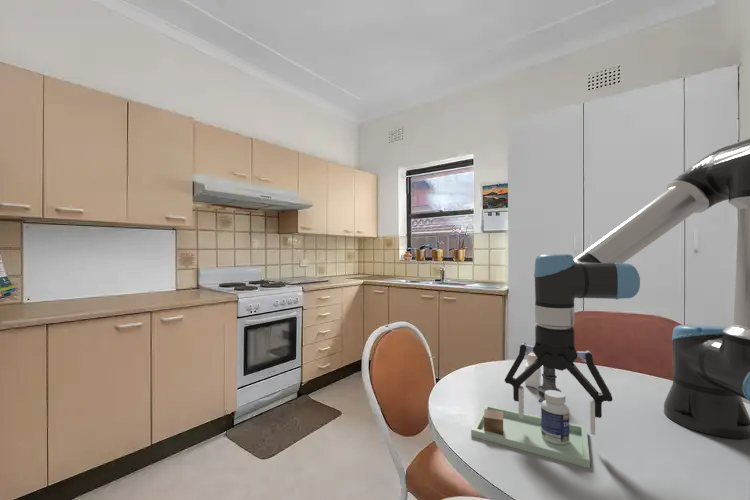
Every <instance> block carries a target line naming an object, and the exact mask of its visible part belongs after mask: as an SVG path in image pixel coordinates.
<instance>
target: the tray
mask: <svg viewBox="0 0 750 500" xmlns="http://www.w3.org/2000/svg"><path fill="white" fill-rule="evenodd" d="M484 409H487V410H494V411H500V412H503V435H499V434H495V433H492V432H488V431H484ZM470 434H471V435H470V437H473V438H477V439H480V440H484V441H488V442H491V443H495V444H498V445H503V446H506V447H509V448H514V449H518V450H520V451H524V452H529V453H532V454H536V455H539V456H543V457H547V458H550V459H554V460H558V461H562V462H565V463H568V464H569V463H570V464H572V465H576V466H580V467H584V468H586V469H590V467H591V463H590V462H591V461H590V459H591V457H590V449H589V439H588V430H587V426H585V425H581V424H578V423H577V424H576V423H572V422H569V442H568V443H567V444H564V445H559V444H554V443H551V442H548V441H547V440H545V439H544V438H543V437H542V433H541V416H539V415H535V414H530V413H526V412H524V415H523V419H521V418H519V410H518V411H517V410H513V409H508V408H504V407H500V406H499V407H498V406H494V405H489V404H484V406H483V407H482V409H481V411H480V412H479V414H478V416H477V418H476V420H475V422H474V423H473V426H472V427H471V430H470Z"/></svg>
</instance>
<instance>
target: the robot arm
mask: <svg viewBox="0 0 750 500" xmlns="http://www.w3.org/2000/svg"><path fill="white" fill-rule="evenodd" d="M727 200H728V203H729V204H730V205H731V206H733V207H735V208H736V209H737V211H738V215H737V216H738V220H737V237H736V238H737V239H736V241H737V242H736V244H737V245H736V261H735V279H734V280H735V285H734V286H735V288H734V301H733V302H734V304H733V305H734V307H733V323H732V324H731V325H729V326H720V325H718V326H717V325H699V324H698V325H697V324H679V325H676V326H674V328H673V330H672V337H671V342H672V384H671V387H670V389H669V392H668V393H667V396H666V398H665V399H664V403H663V413H664V414H665V416H666V417H667V418H668V419H669V420H671V421H673V422H675V423H677V424H679V425H681V426H682V427H685V428H687V429H690V430H692V431H696V432H699V433H702V434H705V435H711V436H715V437H719V438H720V437H721V438H726V439H734V440H735V439H736V440H737V439H738V440H739V439H741V440H743V439H748V438H749V439H750V415H749V412H748V411H747V408H746V405H745V404H744V400H743V399H745V400H747V401H749V402H750V138H748V139H745V140H742V141H739V142H736V143H734V144H733V143H732V144H731V145H726V146H724V147H721V148H718V149H717V150H714V151H713V152H711V153H710V154H708V155H706V156H705V157H702V158H701V159H700V160H699V161H697V162H696V163H695V164H693V165H691V166H690V167H688V169H687V170H685V171H684V172H682V173H681V174H680V175H679V176H677V177H676V178H674V179H673V180H672V181H670V182H669V183H668V184H667V185H666V189H665V191H664V192H663V193H661V194H660V195H659V196H658V197H655V199H654V200H652V201H651V202H649V203H648V204H646V205H645V206H644V207H643V208H641V209H640V210H639V211H637V212H636V213H634V214H633V215H632V216H630V217H628V219H627V220H624V222H622V223H621V224H620V225H618V226H616V227H615V228H614V229H613V230H611V231H610V232H608V233H607V234H606V235H604V236H603V237H602V238H600V239H599V240H598V241H596V242H595V243H593V244H592V245H591V246H589V247H588V248H586V249H585V250H583V252H581V253H580V254H578V255H576V256H575V257H574V255H572V254H566V253H565V254H559V253H558V254H557V253H556V254H553V253H551V254H548V253H547V254H539V255H537V256H536V258H535V261H534V275H533V277H534V293H535V294H534V299H535V304H534V314H535V315H534V321H535V323H536V324H535V327H534V329H535V330H534V333H535V335H534V337H535V338H534V339H535V344H534V345H529V344H527V343H526V342H522V343H521V344H520V346H519V352H518V355H517V357H516V359H515V360H514V362H513V364H512V365H511V368H510V369H509V371H508V372H507V374H506V376H505V378H504V382H505V384H509V385H510V386H512V389H513V390H512V391H513V401H514V402H518V412H519V418H521V419H523V415H524V413H525V409H524V408H525V404H524V403H525V402H524V401H525V400H524V398H525V393H524V389H525V388H524V387H525V386H524V385H525V384H523V383H525V380H527V379H528V378H529V377H530V376H531V375H532V374H533V373H534V372H535V371H536V370H537V369H539V368H540V367H541V368H542V367H543V366H545V367H547V368H548V369H555V370H558V371H561V372H563V371H565V370H567V371H568V372H569V373H570V375H572V376H573V377H574V378H575V379H576V380H577V382H578V383H579V384H580V385H581V387H582V388H583V389H584V390H585V391H586V392H587V393H588V395H589V396H590V397H589V429H590V430H589V431H590V434H591V435H594V436H596V418H598V419H601V418H602V412H603V409H602V406H603V405H602V403H604V402H612V401H613V396H612V393H611V391H610V389H609V388H608V386H607V384H606V382H605V380H604V379H603V377H602V374H600V372H599V369H598V367H597V366H596V364H595V362H594V359H593V354H592V351H591V350H589V349H587V350H585V351H581V350H579V351H578V350H576V346H575V345H576V344H575V343H576V342H575V328H574V327H573V326H574V325H575V299H610V300H621V299H633V298H634V297H635V296H637V294H638V293H639V291H640V288H641V275H640V274H639V271H638V270H637V268H636V267H635V266H634V265H633V264H630V263H625V262H627V261H629V260H630V259H632V258H633V257H634V256H635V255H637V254H638V253H639V252H641V251H642V250H644V249H646V248H647V247H648V246H649V245H651V244H653V243H654V242H655V241H656V240H658V239H659V238H661V237H662V236H663V235H665V234H666V233H668V232H669V231H670V230H672V229H673V228H675V227H676V226H677V225H679V224H680V223H682V222H683V221H684V220H686V219H687V218H688V217H690V216H692V215H693V214H694V213H695V214H701V213H703V212H705V211H707V210H708V209H710V208H711V207H713V206H714V205H717V204H719V203H721V202H724V201H727ZM529 353H534V354H535V355H536V357H537V359H536V360H535V361H534V362H533V363H532V364H531V365H530V366H529V367H528V368H527V369H526V370H525V369H524V371H523V372H521V374H519V375H518V376H517V377H516V378H514V376H515V374H516V372H517V371H518V369H519V368H520V366H521V364H522V362H523V360H524V359H525V357H526V356H527V355H528V354H529ZM577 358H579V359H580V360H581V362H582V363H586V366H587V368H588V370H589V372H590V374H591V375H592V377H593V379H594V381H595V383H596V384H597V387H598V388H599V390H600V392H599V391H598V390H597V389H596V387H594V386H593V384H592V383H591V382H590V381H589V379H587V378H586V376H585V375H584V374H583V373H582V372H581V371H580V370H579V369H578V367H577V365H575V363H574V361H576V360H577Z"/></svg>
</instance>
